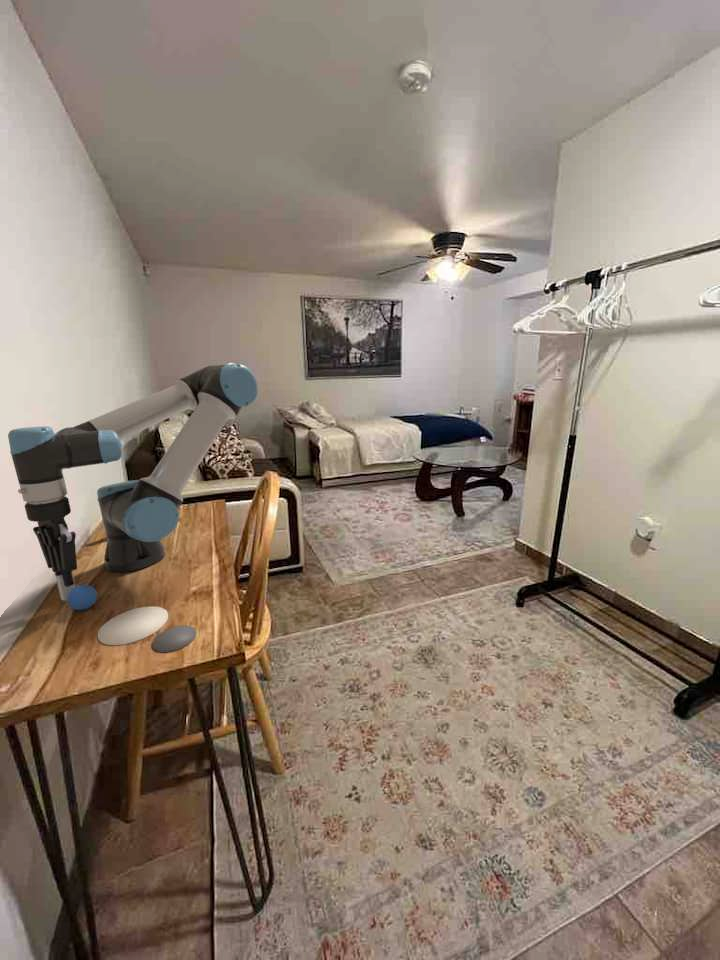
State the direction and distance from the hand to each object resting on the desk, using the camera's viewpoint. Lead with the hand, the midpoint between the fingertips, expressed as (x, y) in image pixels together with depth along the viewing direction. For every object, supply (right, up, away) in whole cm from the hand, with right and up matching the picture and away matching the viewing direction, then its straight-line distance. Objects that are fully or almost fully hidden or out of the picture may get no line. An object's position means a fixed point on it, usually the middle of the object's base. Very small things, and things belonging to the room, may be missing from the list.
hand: (69, 597), depth 90 cm
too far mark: (+30, -4, -13) cm, 33 cm away
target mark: (+19, -3, -8) cm, 21 cm away
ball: (+4, 0, -1) cm, 4 cm away
